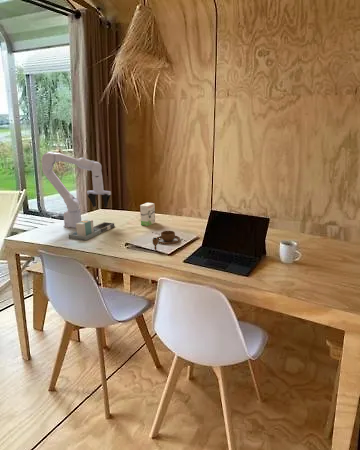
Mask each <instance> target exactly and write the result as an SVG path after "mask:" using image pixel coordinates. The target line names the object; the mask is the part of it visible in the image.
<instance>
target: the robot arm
mask: <svg viewBox="0 0 360 450" xmlns="http://www.w3.org/2000/svg"><path fill="white" fill-rule="evenodd" d="M40 161H41V169H42V174H43V176H44V177H46V178H47V180H48V181H49V182H50V184H51V185H52V187H53V188H54V189H55V191H56V192H57V194H59V195H60V197H61V198H62V199H63V202H64V204H65V205H66V209H67V210H65V211H64V212H63V227H66V228H73V229H76V223H79V222H81V221H82V213H81V208H79V206H80V204H81V203H80V200H79V198H77V197H75V196H74V195H73V193H72V194H71V192H70V191H69V190H68V188H67V187H66V186H65V185H64V183H63V182H62V181H61V179H60V178H59V177H58V176H57V174H56V173H55V171H54V170H53V169H54V164H55V163H58V162H65V163H67V164H72V165H75V166H77V168H79V169H81V170H85V171H89V172H90V171H91V175H92V176H91V178H92V190H89V189H88V190H86V195H87V197H88V199H89V200H90V201H91V205H92V207H93V208H95V207H97V201H96V198H97V195H100V196H101V197H102V200H103V207H104V208H107V207H108V205H109V201H110V197H111V195H112V191H111V190H104V180H103V172H102V167H103V166H102V164H101V162H99V161H97V160H96V161H95V160H90V159H88V158H86V157H84V156H83V157H79V158H75V157H72V156H69V155H67V154H63V153H60V152H55V151H54V152H53V151H47V152H45V153H44V154H43V155H42V157H41V160H40Z"/></svg>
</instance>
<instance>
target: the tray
mask: <svg viewBox="0 0 360 450" xmlns="http://www.w3.org/2000/svg"><path fill="white" fill-rule="evenodd" d="M101 234H102V232H101V229H94V232H93V233H91V234H89V235H87V236H80V235H77V230H76V231H74V232H72V233H69V234H68V239H71V238H72V239H73V240H79V241H88V240H89V239H92V238H93V237H94V238H95V237H96V236H98V235H101Z"/></svg>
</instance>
